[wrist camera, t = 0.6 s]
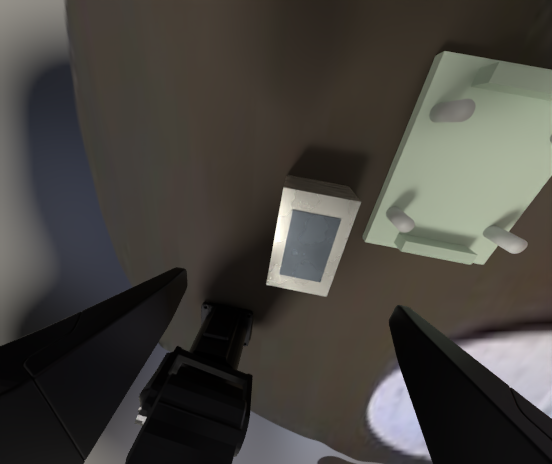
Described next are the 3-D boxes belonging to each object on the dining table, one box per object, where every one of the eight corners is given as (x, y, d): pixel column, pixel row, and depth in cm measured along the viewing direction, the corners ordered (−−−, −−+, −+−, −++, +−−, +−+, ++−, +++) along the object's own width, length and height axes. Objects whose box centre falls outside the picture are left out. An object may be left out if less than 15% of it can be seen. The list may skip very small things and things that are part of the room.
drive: (322, 266, 23) (326, 297, 19) (272, 256, 23) (265, 285, 19) (348, 185, 19) (361, 202, 15) (287, 174, 19) (283, 187, 15)
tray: (475, 258, 20) (506, 282, 17) (362, 236, 21) (373, 256, 17) (602, 85, 14) (688, 73, 11) (435, 55, 14) (473, 35, 11)
